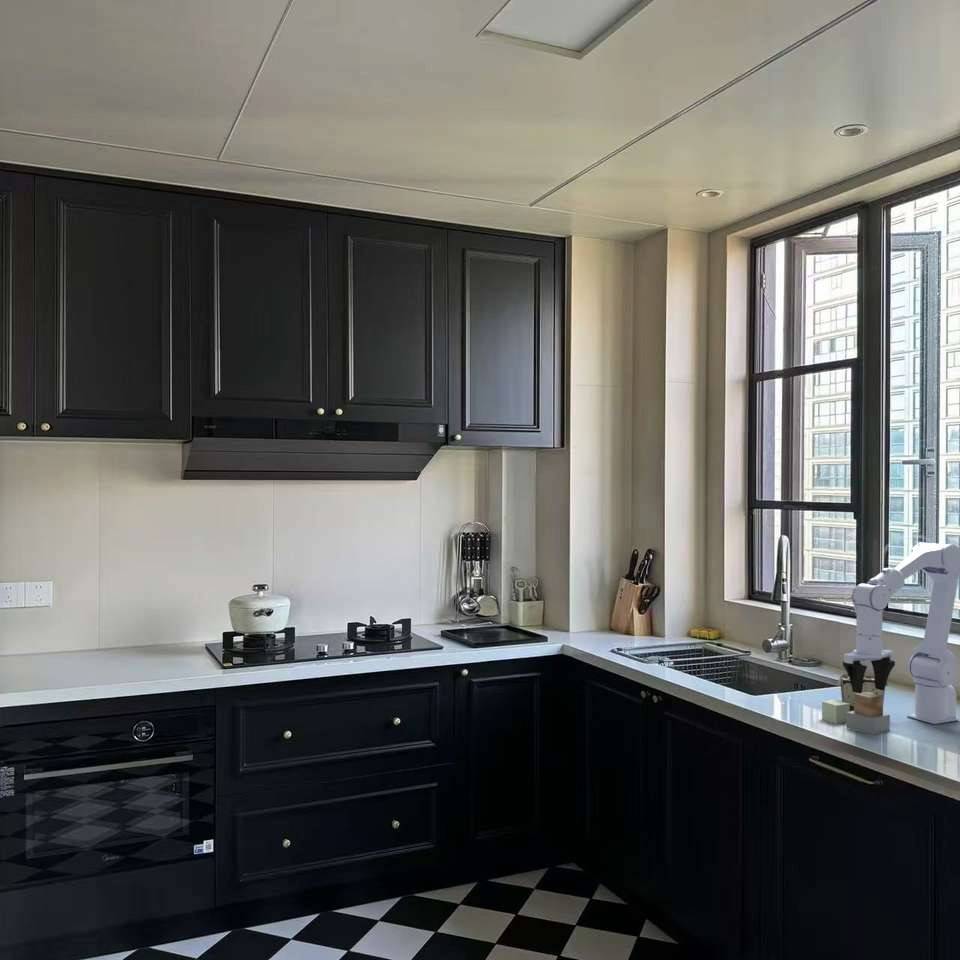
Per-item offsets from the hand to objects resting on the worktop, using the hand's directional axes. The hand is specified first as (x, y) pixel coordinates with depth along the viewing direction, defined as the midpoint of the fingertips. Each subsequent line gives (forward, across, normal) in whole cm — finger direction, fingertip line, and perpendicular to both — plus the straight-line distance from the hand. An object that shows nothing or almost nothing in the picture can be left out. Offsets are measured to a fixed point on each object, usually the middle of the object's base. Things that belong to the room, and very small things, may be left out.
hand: (868, 690), depth 218 cm
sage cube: (+9, +1, -9) cm, 13 cm away
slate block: (+9, 0, 0) cm, 9 cm away
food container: (+9, -9, -11) cm, 17 cm away
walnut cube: (+5, 0, 0) cm, 5 cm away
